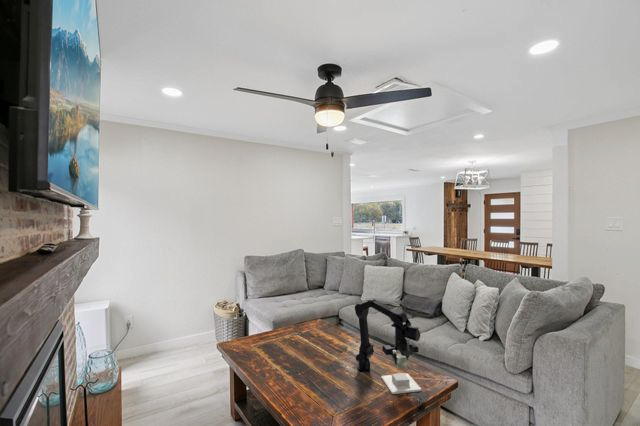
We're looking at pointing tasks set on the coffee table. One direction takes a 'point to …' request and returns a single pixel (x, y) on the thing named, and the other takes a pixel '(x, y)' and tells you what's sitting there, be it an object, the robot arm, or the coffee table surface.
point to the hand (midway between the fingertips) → (400, 364)
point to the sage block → (401, 362)
